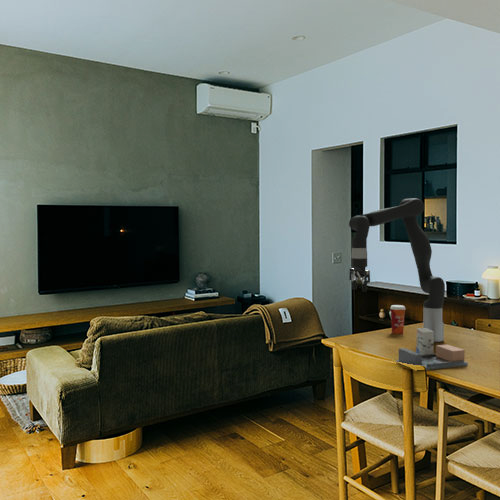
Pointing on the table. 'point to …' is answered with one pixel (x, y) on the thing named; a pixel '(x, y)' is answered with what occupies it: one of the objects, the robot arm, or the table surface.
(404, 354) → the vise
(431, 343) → the ink box
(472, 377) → the table surface
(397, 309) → the coffee cup
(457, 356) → the pink rectangular block
